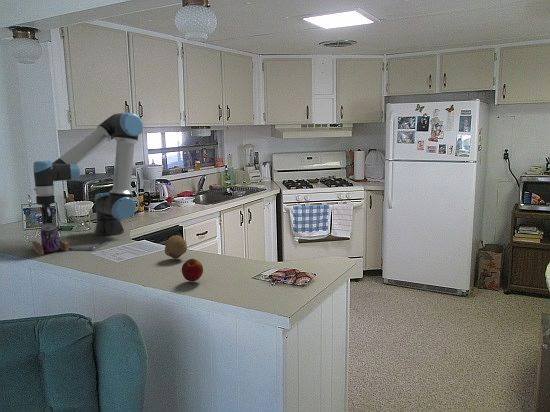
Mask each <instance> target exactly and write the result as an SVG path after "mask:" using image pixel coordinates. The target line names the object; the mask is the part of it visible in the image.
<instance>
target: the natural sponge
mask: <svg viewBox="0 0 550 412" xmlns="http://www.w3.org/2000/svg"><path fill="white" fill-rule="evenodd" d="M187 250H188V246H187V242H186V240H185V238H183V237H182V236H181V235H172V236H170V237H169V238H168V239H167V240H166V243H165V247H164V253H165V255H166V256H168V257H170V258H172V259H179V258H180V257H181V256H182V255H185V253H186V252H187Z"/></svg>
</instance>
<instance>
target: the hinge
mask: <svg viewBox="0 0 550 412" xmlns="http://www.w3.org/2000/svg"><path fill="white" fill-rule="evenodd" d="M107 245H108V241H107V240H102V241H100V242H98V243H96V244H93V245H91V246H81V245H80V246H74V245H72V246H69V245H68V246H69V251H89V252H91V251H92V252H93V251H96V250H97V249H100V248H103V247H104V246H107Z"/></svg>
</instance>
